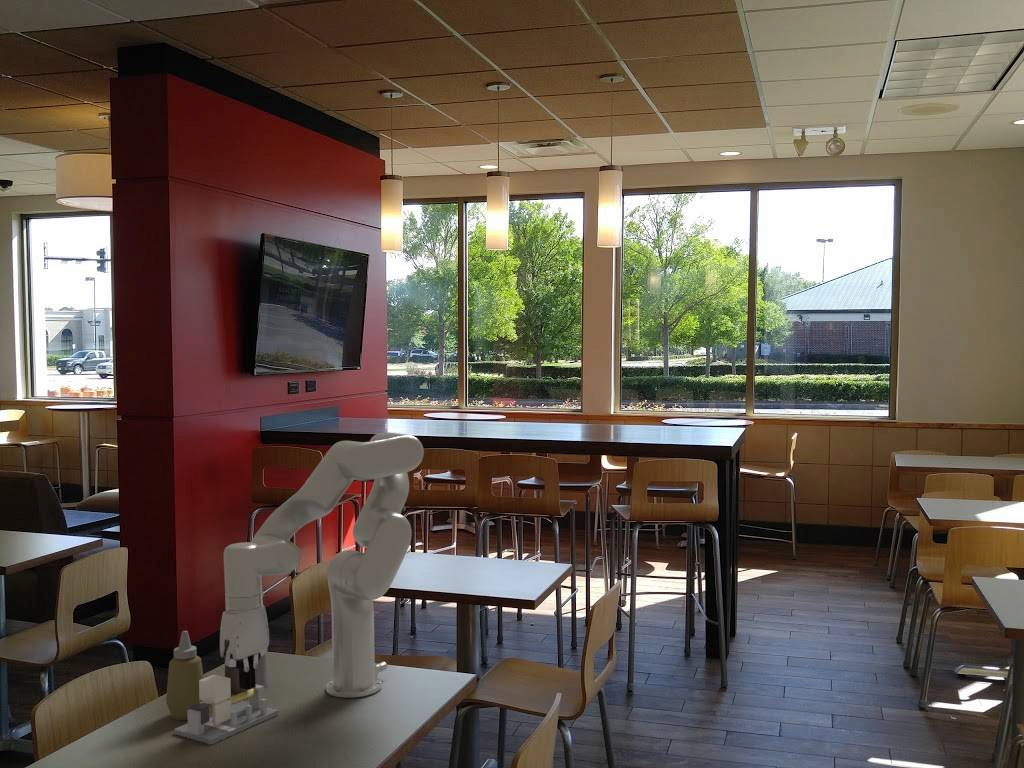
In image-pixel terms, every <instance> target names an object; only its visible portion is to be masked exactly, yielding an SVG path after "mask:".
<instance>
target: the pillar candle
mask: <svg viewBox="0 0 1024 768" xmlns="http://www.w3.org/2000/svg"><path fill="white" fill-rule="evenodd" d="M223 659H224V660H225V659H226V658H223ZM241 662H242V661H241ZM268 675H269V674H268V652H267V653H266V654H264V655H263V656H261V657H260V659H259V661H258V666H257V668H255V680H256V684H257V685H261V686H264V687H265V688H267V685H268V682H269V681H268V677H269V676H268ZM224 677H227V678H230V685H231V694H235V693H238V694H239V693H242V692H244V691H247V689H243V688H240V686H239V670H236V668H235V667H227V666H225V665H224Z"/></svg>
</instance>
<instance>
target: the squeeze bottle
mask: <svg viewBox="0 0 1024 768" xmlns="http://www.w3.org/2000/svg"><path fill="white" fill-rule="evenodd" d="M202 664H203V663H202V658H201V657H200V656H198V655H197V646H195V645H192V642H191V639H190V635H189V632H188V630H182V631H181V635H180V639H179V645H178V646H177V647H175V648H174V649H173V657H172V659H171V660H170V661H169V662H168V675H167V686H166V698H165V699H166V700H165V702H166V703H165V704H166V705H167V708H168V710H169V713H170V716H171V718H172V719H174V720H180V721H182V720H183V721H184V720H188V716H187V710H189V709H190V706H191V705H194V704H197V703H200V700H199V680H201V679H204V678H205V677H204V672H203V671H204V669H203V665H202Z"/></svg>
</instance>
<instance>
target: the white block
mask: <svg viewBox="0 0 1024 768" xmlns="http://www.w3.org/2000/svg"><path fill="white" fill-rule="evenodd" d="M203 678H204V679H201V680H199V700H200V703H201V704H205V705H209V704H210V705H212V714H209V719H210V718H213V724H214V725H217V724H219V723H222V722H224V721H226V720H229V719H231V697H232V695H231V694H232V693H231V685H230V678H227V677H225V676H222V675H218V674H212V675H209V676H206V677H203Z"/></svg>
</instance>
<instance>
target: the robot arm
mask: <svg viewBox="0 0 1024 768" xmlns="http://www.w3.org/2000/svg"><path fill="white" fill-rule="evenodd" d="M424 454H425V449H424V446H423V444H422V442H421V441H420V440H419V439H418V437H415V436H414V435H411V434H409V433H408V434H407V433H397V432H387V431H386V432H380V433H376V434H375V435H373V436H372V437H371V438H370V440H369V441H362V442H361V441H355V440H353V441H352V440H341V441H337V442H336V443H334V444H333V445H332V446H331V447H330V449H328V451H327V452H326V453H325V455H324V456H323V458H321V460H320V462H319V463H318V465H317V466H316V467H315V468H314V470H313V471H312V473H311V474H310V475H309V477H308V478H307V479H306V480H305V483H303V485H302V486H301V488H299V490H298V491H297V492H295V493H294V494H293V495H292V496H291V497H289V498H288V499H286V501H285V502H283V503H282V504H281V505H280V506H279V507H277V508H276V509H275V510H274V511H273V512H272V513H271V514H270V515H269V516H268V517H267V518H266V519H265V521H264V522H263V524H261V527H260V528H259V529H258V530H257V532H256V533H255V535H254V536H253V538H252V539H251V542H248V541H247V542H246V541H245V542H237V543H231V544H229V545H227V546H226V547H225V548H224V550H223V572H224V575H223V576H224V592H225V594H224V595H225V596H224V597H225V611H223V612H222V615H221V620H220V621H221V622H220V627H219V631H220V632H219V654H220V655H219V656H220V657H221V658H222V659H224V658H226V659H224V667H225V666H227V667H235V668H236V670H239V686H240V688H243V689H247V690H250V689H252V688H255V687H256V680H255V668H257V666H258V661H259V659H260V657H261V656H263V655H264V654H266V653H267V654H268V647H269V644H270V632H269V631H270V630H269V624H268V617H267V611H266V607H265V605H264V603H263V598H264V597H265V592H264V591H263V581H262V579H263V577H262V576H282V575H283V576H284V575H288V574H290V573H292V572H293V571H295V569H297V568H298V566H299V564H300V562H301V558H302V556H301V555H302V554H301V550H300V549H299V547H298V546H297V545H296V544H295V543H294V542H293V541H290V540H291V538H292V537H293V536H294V535H295V534H296V533H297V532H298V531H299V530H300V529H302V528H303V527H304V526H306V525H308V524H309V523H312V522H313V521H316V520H319V519H321V518H323V517H325V516H327V515H328V514H330V513H331V512H332V511H333V510H334V508H336V505H338V503H339V502H340V500H341V498H342V497H343V496H344V494H345V493H346V491H347V490H348V489H349V487H350V486H351V485H352V483H353V481H354V480H356V481H365V482H366V481H370V480H371V481H372V480H374V481H373V484H372V488H371V489H370V493H369V494H368V496H367V499H366V500H365V502H364V505H363V506H362V508H361V510H360V513H359V514H358V517H357V518H356V521H355V523H354V525H353V528H352V536H353V539H354V541H355V542H356V543H357V544H358V545H359V546H361V547H363V548H365V551H364V552H361V551H358V550H353V549H348V550H346V549H345V550H342V551H340V552H338V553H337V554H335V555H334V556H333V557H332V559H330V562H329V563H328V565H327V570H326V571H327V572H326V577H327V585H328V591H329V596H330V604H331V605H330V607H331V644H332V646H331V647H332V649H331V651H332V654H331V655H332V680H330V681H328V682H327V684H326V685H325V689H326V691H325V692H326V693H327V694H329V695H330V696H333V697H337V698H345V699H346V698H347V699H348V698H351V699H352V698H361V697H362V698H363V697H367V696H369V695H373V694H375V693H377V692H379V691H380V690H381V688H382V687H383V682H382V681H383V680H382V679H380V678H379V677H378V675H379V673H381V672H384V671H386V670H387V668H388V664H387V663H386V662H385V661H381V662H379V663H377V664H376V662H375V661H376V660H375V657H376V656H375V611H374V608H375V607H374V603H373V601H375V600H378V599H380V598H381V597H383V596H384V595H385V594H386V593H387V592H388V590H389V589H390V587H391V585H392V583H393V582H394V579H395V578H396V576H397V574H398V572H399V570H400V567H401V565H402V563H403V560H404V559H405V556H406V554H407V553H408V550H409V547H410V544H411V541H412V535H413V534H412V531H413V530H412V527H411V523H410V522H409V521H410V520H408V518H406V516H404V515H403V514H401V513H402V512H403V511H402V510H403V509H404V506H405V504H406V502H407V498H408V495H409V491H410V480H409V475H408V472H411V471H413V470H415V469H416V468H417V467H419V466H420V465H421V463H422V462H423V458H424ZM241 661H242V662H241Z"/></svg>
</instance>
